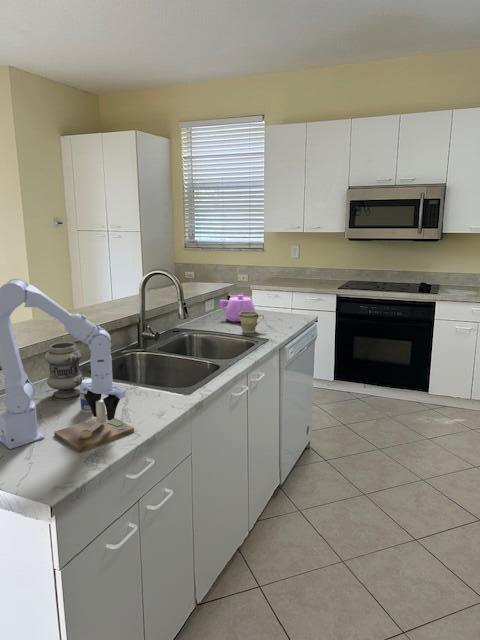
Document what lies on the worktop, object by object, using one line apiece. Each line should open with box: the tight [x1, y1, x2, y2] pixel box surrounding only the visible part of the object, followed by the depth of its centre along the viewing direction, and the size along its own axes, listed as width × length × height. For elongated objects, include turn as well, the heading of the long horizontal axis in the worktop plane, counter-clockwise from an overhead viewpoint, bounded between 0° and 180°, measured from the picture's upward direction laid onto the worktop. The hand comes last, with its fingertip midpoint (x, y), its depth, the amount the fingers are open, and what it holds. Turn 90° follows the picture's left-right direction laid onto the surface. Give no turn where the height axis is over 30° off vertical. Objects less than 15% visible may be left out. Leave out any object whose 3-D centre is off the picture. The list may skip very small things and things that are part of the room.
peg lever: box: [80, 399, 107, 439], centre depth 135 cm, size 11×3×7 cm, turn 165°
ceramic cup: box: [239, 311, 265, 334], centre depth 254 cm, size 13×10×10 cm
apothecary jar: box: [44, 341, 85, 401], centre depth 164 cm, size 12×12×18 cm
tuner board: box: [53, 413, 135, 453], centre depth 137 cm, size 17×14×1 cm
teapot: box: [218, 294, 256, 323], centre depth 278 cm, size 23×21×15 cm
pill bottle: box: [79, 378, 92, 413], centre depth 153 cm, size 5×5×10 cm
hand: (104, 417), depth 139 cm, fingers open, 4 cm apart
